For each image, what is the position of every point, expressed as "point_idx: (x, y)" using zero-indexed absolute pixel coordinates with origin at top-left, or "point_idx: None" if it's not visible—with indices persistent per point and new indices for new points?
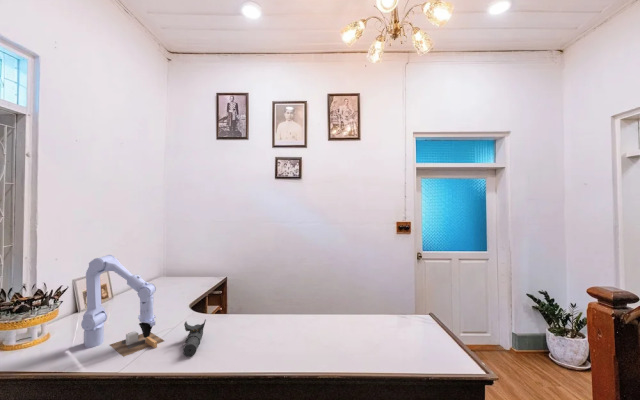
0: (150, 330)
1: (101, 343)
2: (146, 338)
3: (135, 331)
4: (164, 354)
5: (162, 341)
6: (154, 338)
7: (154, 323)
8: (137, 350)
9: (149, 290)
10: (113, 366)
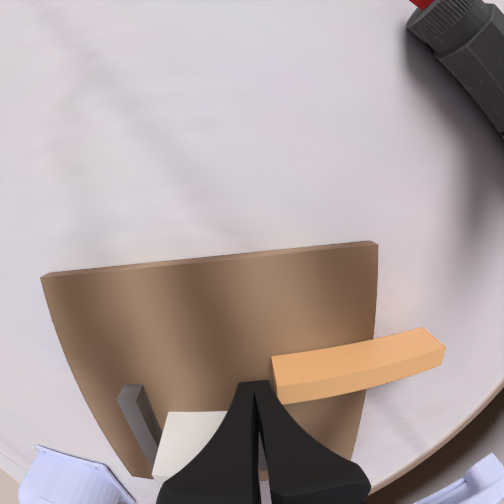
0: (291, 419)
1: (102, 481)
2: (284, 398)
3: (165, 476)
4: (487, 297)
5: (370, 265)
6: (238, 300)
7: (500, 474)
8: (348, 424)
9: None
10: (370, 473)
